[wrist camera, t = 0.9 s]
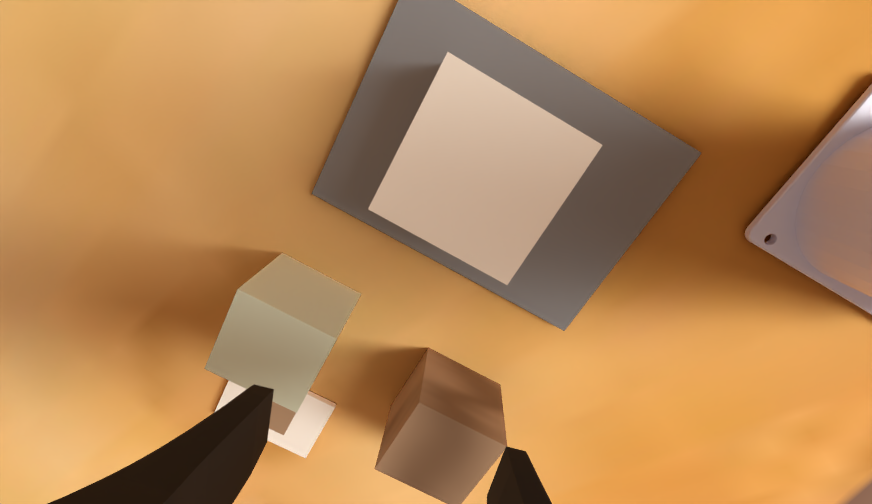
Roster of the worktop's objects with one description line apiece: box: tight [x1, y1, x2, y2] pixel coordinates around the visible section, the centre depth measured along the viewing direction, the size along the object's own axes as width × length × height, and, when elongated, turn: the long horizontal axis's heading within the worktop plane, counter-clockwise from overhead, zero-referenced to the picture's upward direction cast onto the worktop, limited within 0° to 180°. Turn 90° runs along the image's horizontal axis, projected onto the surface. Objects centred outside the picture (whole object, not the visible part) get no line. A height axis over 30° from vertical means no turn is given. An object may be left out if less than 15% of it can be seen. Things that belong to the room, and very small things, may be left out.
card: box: [215, 381, 336, 458], centre depth 24 cm, size 6×4×1 cm
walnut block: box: [375, 348, 507, 504], centre depth 22 cm, size 4×4×4 cm
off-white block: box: [368, 52, 602, 285], centre depth 17 cm, size 6×6×4 cm
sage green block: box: [205, 253, 361, 413], centre depth 20 cm, size 4×4×4 cm
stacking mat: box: [312, 0, 701, 331], centre depth 19 cm, size 14×10×1 cm
